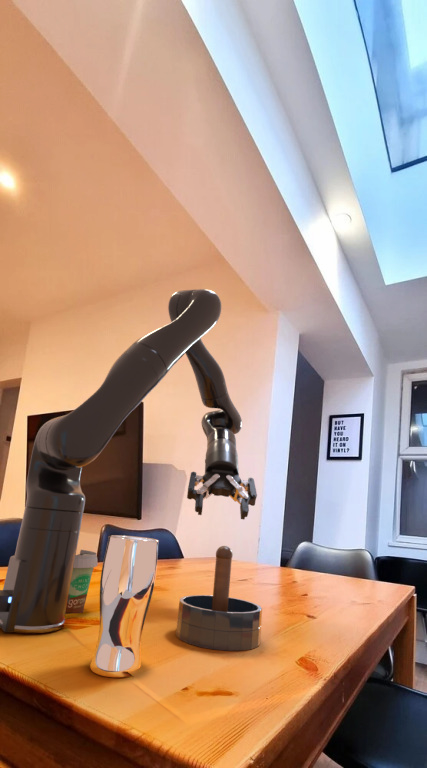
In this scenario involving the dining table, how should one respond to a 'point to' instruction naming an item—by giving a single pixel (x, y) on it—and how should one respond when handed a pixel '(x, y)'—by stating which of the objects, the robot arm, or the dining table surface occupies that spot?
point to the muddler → (222, 579)
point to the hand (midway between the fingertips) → (221, 514)
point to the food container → (80, 581)
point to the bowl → (219, 624)
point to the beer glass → (124, 603)
